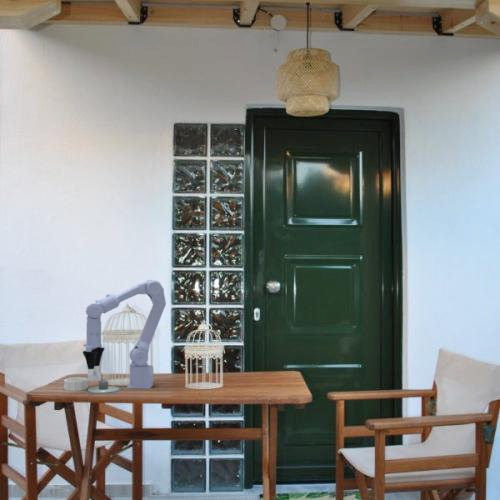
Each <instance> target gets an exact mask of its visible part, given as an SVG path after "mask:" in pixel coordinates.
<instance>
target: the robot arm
mask: <svg viewBox="0 0 500 500" xmlns="http://www.w3.org/2000/svg"><path fill="white" fill-rule="evenodd" d="M137 295H147V296H148V297H149V299H150V301H151V303H152V306H151V309H150V310H149V313H148V316H147V318H146V321H145V324H144V327H143V329H142V330H141V334H140V336H139V339H138V341H137V342H136V344H135V346H134V347H133V348H132V349H131V350H130V352H129V358H130V360H131V362H130V363H129V385H127V386H126V389H151V388H152V387H153V386H154V366H153V365H150V364H148V360H149V351H150V346H151V342H152V340H153V338H154V335H155V332H156V330H157V327H158V325H159V323H160V320H161V317H162V315H163V312H164V310H165V307H166V304H167V303H166V302H167V301H166V296H165V288H164V287H163V285H162V284H161V282H159V281H158V280H154V279H149V280H146V281H144V282H141V283H137V284H136V285H135V284H134V285H133V286H132V287H129V288H128V289H126V290H124V291H122V292H121V293H119V294H117V295H116V294H113V293H111V294H110V293H109V294H106V295H105V297H103V298H101V299H99V300H98V299H96V300H94V302H95V303H94V302H93V303H90V304H88V306H87V307H86V308H85V309H86V310H85V313H86V315H87V316H86V343H84V344H83V347H85V350H82V355H83V356H84V358H85V359H84V360H85V362H86V367H87V366H88V367H87V370H88V369H94V366H99V365H100V361H101V356H102V353H103V354H104V351H105V347H103V344H102V320H101V317H102V314H106V313H109V312H111V311H112V310H115V309H117V308H118V307H119V306H120V303H121V302H124V301H126V300H128V299H130V298H132V297H134V296H137ZM101 346H102V348H100V347H101Z"/></svg>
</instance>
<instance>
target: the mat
mask: <svg viewBox="0 0 500 500" xmlns="http://www.w3.org/2000/svg"><path fill="white" fill-rule="evenodd" d="M117 387H118V388H119V391H116V392H112V393H91V392H88V389H86V390H84V391H83V393H82V394H84V395H85V394H90V395H91V394H92V395H93V394H94V395H95V394H97V395H99V394H101V395H116V394H118V393H119V392H121V390H122V389H124V386H122V387H121V386H120V387H119V386H117Z"/></svg>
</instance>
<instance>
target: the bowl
mask: <svg viewBox="0 0 500 500" xmlns="http://www.w3.org/2000/svg"><path fill="white" fill-rule="evenodd" d="M63 389H64V390H65V391H69V392H71V391H72V392H78V391H86V390H88V389H89V381H88V379H87V378H86V377H68V378H65V379H64V380H63Z"/></svg>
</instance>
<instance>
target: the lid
mask: <svg viewBox="0 0 500 500" xmlns="http://www.w3.org/2000/svg"><path fill="white" fill-rule="evenodd" d="M118 387H119V386H114V385H109V381H107V380H101V381H98V385H97V386H91V387H88V388H87V390H88V392H91V393H112V392H116V391H119V388H118ZM119 392H120V391H119Z"/></svg>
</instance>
